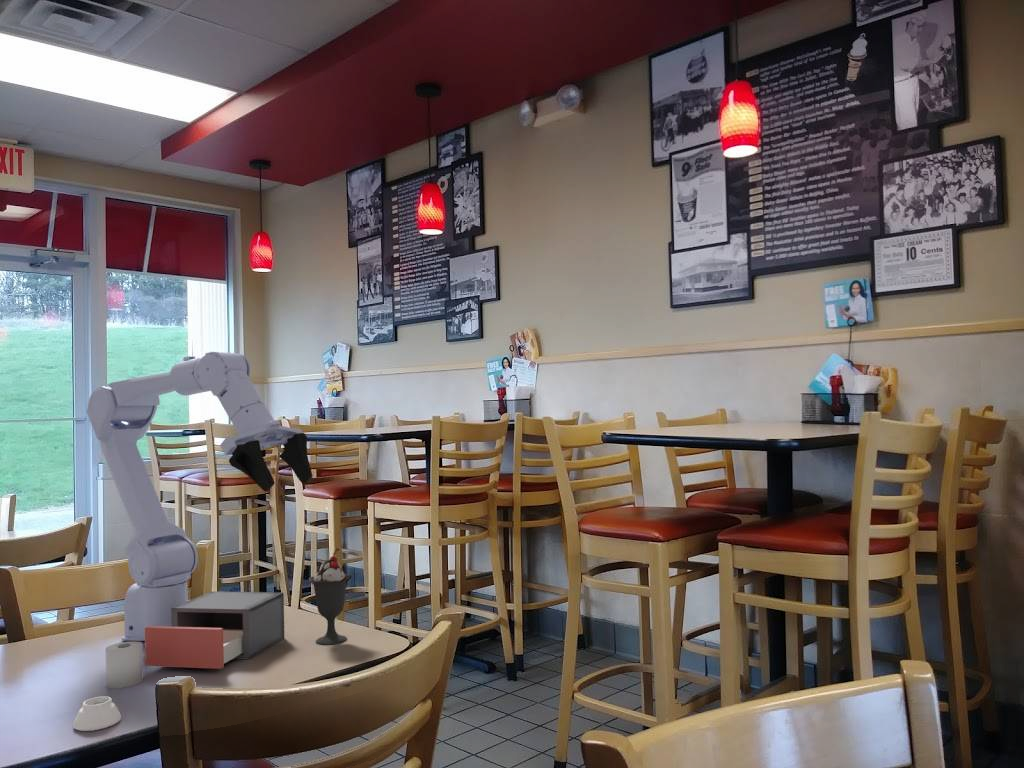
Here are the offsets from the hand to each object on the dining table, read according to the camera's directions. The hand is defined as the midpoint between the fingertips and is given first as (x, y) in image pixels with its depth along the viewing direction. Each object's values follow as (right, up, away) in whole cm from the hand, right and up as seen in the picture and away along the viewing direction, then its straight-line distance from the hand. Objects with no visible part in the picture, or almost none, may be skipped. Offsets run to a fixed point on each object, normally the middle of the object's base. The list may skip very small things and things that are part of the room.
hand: (289, 483), depth 122 cm
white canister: (-20, -26, -11) cm, 35 cm away
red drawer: (-12, -25, -2) cm, 28 cm away
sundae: (+5, -26, +6) cm, 28 cm away
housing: (-11, -26, +5) cm, 29 cm away
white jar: (-16, -26, -26) cm, 40 cm away
